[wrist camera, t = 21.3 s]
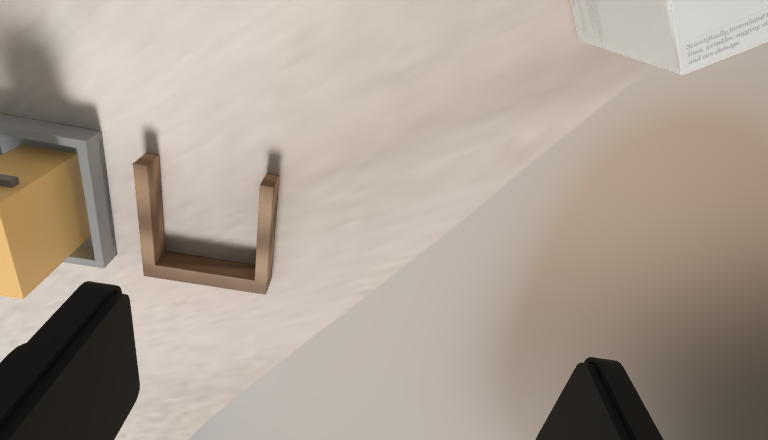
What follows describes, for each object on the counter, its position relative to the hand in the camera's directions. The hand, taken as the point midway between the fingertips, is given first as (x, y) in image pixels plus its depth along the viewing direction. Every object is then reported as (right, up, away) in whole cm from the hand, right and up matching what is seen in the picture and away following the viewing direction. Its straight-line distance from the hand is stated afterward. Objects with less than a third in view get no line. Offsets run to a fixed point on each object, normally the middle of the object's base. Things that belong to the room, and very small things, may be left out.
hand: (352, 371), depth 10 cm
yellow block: (-31, +6, +35) cm, 47 cm away
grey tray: (-31, +6, +36) cm, 48 cm away
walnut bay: (-16, +4, +37) cm, 40 cm away
